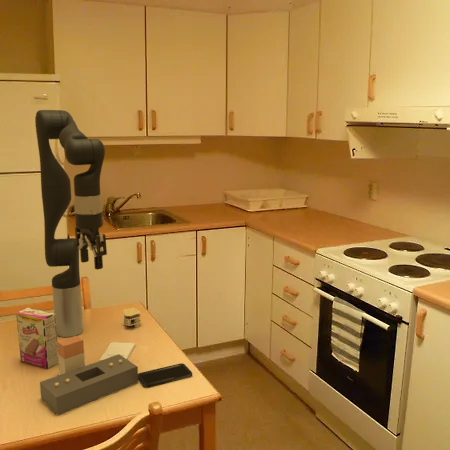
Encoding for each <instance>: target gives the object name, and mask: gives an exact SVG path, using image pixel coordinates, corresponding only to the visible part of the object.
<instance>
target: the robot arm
mask: <svg viewBox="0 0 450 450" xmlns="http://www.w3.org/2000/svg"><path fill="white" fill-rule="evenodd" d="M34 119H35V120H34V123H35V132H36V140H37V148H38V156H39V165H40V166H39V168H40V190H41V199H42V201H41V202H42V208H43V209H42V210H43V220H44V221H43V223H44V224H43V225H44V226H43V227H44V258H45V262H46V265H47V266H48V267H50V268H51V267H52V268H53V267H55V268H56V267H68V268H67V269H66V270H64V271H63V272H60V273H58V274H55V275H54V276H53V277H52V278H51V287H52V289H51V291H52V301H53V302H52V303H53V313H54V314H55V322H56V335H57V336H58V337H63V338H70V337H73V336H78V335H81V333H83V331H84V325H83V323H84V322H83V318H84V317H83V306H82V305H83V304H82V290H81V287H82V286H81V276H80V262H81V263H87V262H90V257H89V250H90V251H92V254H93V263H94V269H95V270H102V269H103V268H104V265H103V262H104V261H103V256H107V254H108V253H107V252H108V251H107V238H106V234H105V233H103V234H100V230H99V229H100V228H101V227H103V225H104V220H103V216H104V215H103V203H102V198H101V196H102V195H101V175H102V167H103V163H104V160H105V156H106V149H105V146H104V143H103V142H102V141H101V140H100V139H98V138H88V137H87V136H86V135H85V133H83V132H82V131H80V129H79V128H78V125H77V123H76V122H75V120H74V118H73V116H72V115H71V114H70V113H69V112H68V111H67V110H61V109H60V110H59V109H41V110H39V109H38V111H36V114H35V118H34ZM50 140H58V141H59V145H61V147H62V148H63V149H64V151H65V159H66V160H67V161H66V162H68V163H69V164H70V165H73V166H87V165H88V166H89V168H88V170H86V171H83V172H80V173H78V174H75V176H73V188H74V189H73V190H74V203H73V204H74V205H73V206H74V221H75V228H74V234H75V236H74V237H75V238H71V237H70V238H69V237H68V238H67V237H66V238H55V237H56V235H55V234H56V231H57V228H58V225H59V224H60V221H61V220H62V218H63V216H64V214H65V213H66V211H67V210H68V208H69V206H70V204H71V201H72V187H71V186H72V185H71V179H70V176H69V175H68V173H67V172H66V170H65V169H64V168H63V166H62V165H61V163H59V161H58V159H57V158H56V156H55V155H54V153H53V151H52V148H51V144H50ZM88 248H89V249H88Z"/></svg>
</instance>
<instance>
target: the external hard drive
mask: <svg viewBox="0 0 450 450" xmlns="http://www.w3.org/2000/svg"><path fill="white" fill-rule="evenodd" d="M135 348H136V343H134V342H117V341H113V342H110V344H109V345H108V346H107V348H106V350H105V351H104V352H103V354H102V355H101V357H100V358H99V359H98V361H101V360H104V359H107V358H110V357H112V356H115V355H118V354H119V355H121V356H123V357H124V358H126V359H127V360H129V358H130V356H131V354H132V352H133V351H134V349H135Z"/></svg>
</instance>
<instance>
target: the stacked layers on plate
mask: <svg viewBox="0 0 450 450" xmlns="http://www.w3.org/2000/svg"><path fill="white" fill-rule="evenodd" d="M140 317H141V311H140V310H138V309H137V308H135V307H129V308H125V309H123V321H124V322H123V323H124V325H125V326H127V325H128V326H129V327H132V326H134V328H139V327H140V326H141V324H140V323H141V321H142V320H141V319H140ZM128 326H127V327H128Z"/></svg>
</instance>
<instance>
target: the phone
mask: <svg viewBox="0 0 450 450" xmlns="http://www.w3.org/2000/svg"><path fill="white" fill-rule="evenodd" d="M192 377H193V372H192V370H190V368H189V367H188V366H187V365H186V364H185V363H181V362H180V363H177V364H172V365H168V366H165V367H164V366H163V367H160V368H155V369H151V370H146V371H142V372H138V383H140V385H141V386H142V388H143V389H150V388H153V387H158V386H160V385H167V384H169V383H174V382H177V381H181V380H186V379H190V378H192Z"/></svg>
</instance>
